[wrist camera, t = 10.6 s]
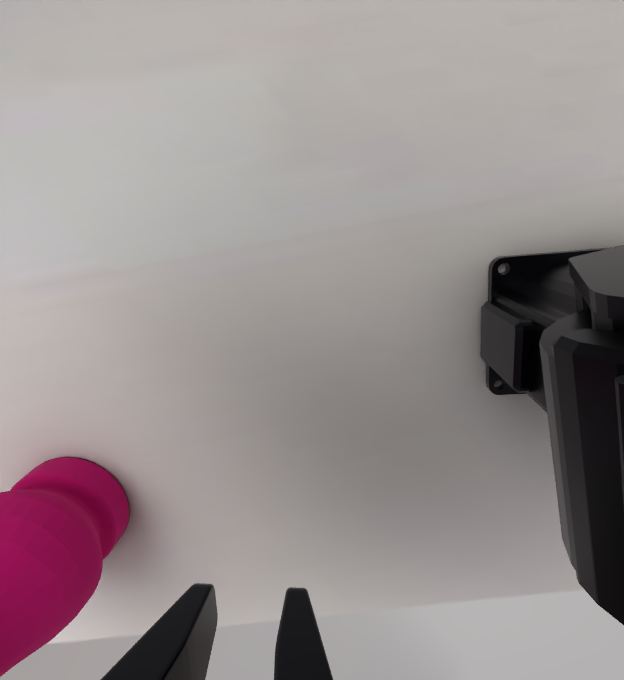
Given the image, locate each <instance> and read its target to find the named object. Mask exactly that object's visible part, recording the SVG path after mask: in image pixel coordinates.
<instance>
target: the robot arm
mask: <svg viewBox="0 0 624 680" xmlns="http://www.w3.org/2000/svg"><path fill="white" fill-rule="evenodd" d="M502 263H505V264H506V270H505V271H504V273H501V274H500V273H499V272H498V267H499V265H500V264H502ZM481 358H482V359H483V360H484V361H485V362H486V363H487V365H486V385H487V387H488V389H489V390H490V391H491V392H492V393H494V394H497V395H506V394H526V393H527V394H528V395H529V396H530V397H531V398H532V399H533V400H534V401H535V402H536V403H537V404H539V405H540V406H541V407H542V408H543V409H544V410H545V411H546V412H547V413H548V422H549V430H550V438H551V447H552V455H553V464H554V472H555V481H556V489H557V498H558V506H559V515H560V523H561V532H562V539H563V542H564V545H565V547H566V550H567V553H568V555H569V558H570V561H571V564H572V565H573V567H574V568H575V570H576V574H577V580H578V582H579V584H580V585H581V586H582V587H583V588H584V589H585V590H586V592H587V593H588V594H589V595H590V596H591V597H592V598H593V600H594V601H595V602H596V603H597V604H598V605H599V606H600V607H602V608H603V609H604V610H605V611H607V612H608V613H609V614H611V615H612V616H613V617H614V618H615V619H617V620H618V621H619V622H620V623H622V624H623V625H624V245H622V246H618V247H614V248H602V249H589V250H577V251H565V252H552V253H540V254H527V255H515V256H503V257H498V258H496V259H494V260H493V261H492V262H491V264H490V267H489V287H488V302H486V303H485V304H484V305H483V306H482V314H481ZM498 380H502V384H501V385H500V386H498V387H494V384H495V382H496V381H498ZM216 626H217V606H216V597H215V589H214V586H213V585H211V584H199V583H197V584H194V585H192V586H191V587H190V588H189V589H188V590H187V591H186V592H185V593H184V594H183V595H182V596H181V597H180V598H179V599H178V600H177V601H176V602H175V603H174V604H173V605H172V607H171V608H170V609H169V610H168V611H167V612H166V613H165V614H164V615H163V616H162V617H161V618H160V619H159V620H158V621H157V622H156V623H155V624H154V625H153V626H152V627H151V628H150V629H149V630H148V631H147V632H146V633H145V634H144V635H143V637H142V638H141V639H140V640H139V641H138V642H137V643H136V644H135V645H134V646H133V647H132V648H131V649H130V650H129V651H128V652H127V653H126V654H125V655H124V656H123V657H122V658H121V659H120V660H119V661H118V662H117V664H116V665H115V666H113V668H112V669H111V670H110V671H109V672H108V673H107V674H106V675H105V676H104V677H103V678H102V679H101V680H205V677H206V673H207V668H208V664H209V659H210V654H211V650H212V645H213V641H214V636H215V631H216ZM274 680H333V678H332V675H331V671H330V667H329V664H328V660H327V657H326V653H325V650H324V646H323V643H322V640H321V636H320V633H319V629H318V626H317V622H316V619H315V615H314V612H313V608H312V605H311V602H310V598H309V595H308V592H307V590H306V589H305V588H288V589H287V591H286V595H285V600H284V605H283V610H282V615H281V620H280V626H279V631H278V636H277V643H276V649H275V669H274Z"/></svg>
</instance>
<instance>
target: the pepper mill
mask: <svg viewBox="0 0 624 680" xmlns="http://www.w3.org/2000/svg"><path fill="white" fill-rule="evenodd" d="M128 520H129V505H128V501H127V498H126V495H125V492H124V491H123V489H122V488H121V486H120V485H119V483H118V482H117V480H116V479H115V478H114V477H113V476H111V475H110V474H109V473H108V472H107V471H106V470H105V469H103V468H101V467H99V466H98V465H96V464H94V463H92V462H89V461H86V460H83V459H80V458H69V457H65V458H55V459H52V460H48V461H45V462H44V463H42V464H40V465H39V466H37V467H36V468H34V469H33V470H32V471H31V472H30V473H28V474H27V475H26V476H25V477H23V478H22V479H21V480H20V481H19V482H17V483H16V484H15V485H14V486H13V487H12V489H11V490H10V491H7V492H1V493H0V676H2V675H3V674H4V673H5V672H7V671H8V670H9V669H11V668H12V667H13V666H15V665H16V664H17V663H19V662H20V661H21V660H23V659H25V658H26V657H27V656H29V655H30V654H32V653H33V652H35V651H36V650H38V649H39V648H40V647H42V646H43V645H45V644H46V643H48V642H49V641H51V640H52V639H53V638H54V637H55V636H56V635H57V634H58V633H59V632H60V631H61V630H63V629H64V628H65V627H66V626H67V625H68V624H69V623H70V622H71V621H72V620H73V619H74V618H75V617H76V616H77V615H78V613H79V612H80V611H81V609H82V608H83V607H84V605H85V604H86V603H87V601H88V600H89V599H90V598H91V596H92V595H93V593H94V591H95V589H96V587H97V585H98V582H99V580H100V577H101V572H102V562H103V559H104V558H105V557H106V556H107V555H108V554H109V553H110V551H111V550H112V549H113V547H114V546H115V544H116V543H117V541H118V540H119V539H120V537H121V536H122V534H123V533H124V531H125V529H126V527H127V524H128Z"/></svg>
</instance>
